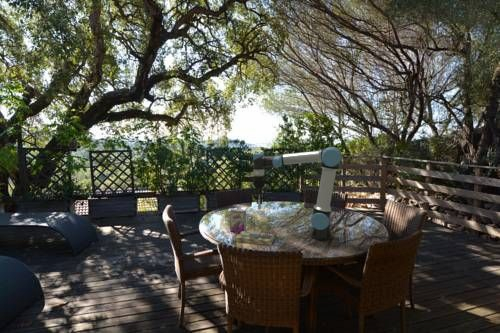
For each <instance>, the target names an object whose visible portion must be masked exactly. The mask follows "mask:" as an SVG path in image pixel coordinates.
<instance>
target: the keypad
mask: <svg viewBox="0 0 500 333" xmlns="http://www.w3.org/2000/svg"><path fill="white" fill-rule="evenodd" d="M252 232H253V231H246V232H245V231H242V232H241V233H239V234H238V235H237V236H236V237H235V243H242V244H243V243H245V244H251V245H252V244H253V245H262V246H272V244H273V243H274V241H275V240H276V234H275V233H265V232H261V236H262V235H271V237H270V239H266V238H261V236H260V237H259V238H256V237H251V235H250V236H249V237H246V236H241V234H242V233H252Z"/></svg>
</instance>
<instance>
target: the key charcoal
mask: <svg viewBox="0 0 500 333" xmlns="http://www.w3.org/2000/svg"><path fill="white" fill-rule="evenodd" d="M270 237H271V235H262V236H261V238H266V239H270Z"/></svg>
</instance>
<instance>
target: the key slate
mask: <svg viewBox="0 0 500 333" xmlns="http://www.w3.org/2000/svg"><path fill="white" fill-rule="evenodd" d="M251 232H252V233H251V237H256V238H259V237H260V236H261V233H262V232H261V231H254V230H252V231H251Z"/></svg>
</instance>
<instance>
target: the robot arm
mask: <svg viewBox="0 0 500 333" xmlns="http://www.w3.org/2000/svg"><path fill="white" fill-rule="evenodd" d="M342 156H343V155H342V151H341V149H339V148H338V147H336V146H329V147H326V148H321V149H319V150H313V151H303V152H294V153H293V152H292V153H282V154H275V155H268V156H267V155H265V154H264V153H263V152H256V153H253V156H252V162H253V163H252V164H253V170H252V172H253V183H252V184H250V185H249V187H250V189H251V192H252V196H253V199H254V200H256V205H257V209H258V210H261V209H262V205H263V200H264V199H265V198H266V194H267V190H268V188H269V185H268V184H266V182H265V168H280V167H282V166H284V165H295V164H308V163H320V167H321V169H322V170H321V176H320V181H319V188H318V193H317V199H316V204H315V205H313V207H312V208H313V209H312V214H311V217H310V223H311V226H312V228H311V232H310V237H311V238H312V239H313V240H318V241H330V239H331V240H332V239H333V238H334V236H333V232H332V231H333V230H332V228H331V227H332V226H331V220H332V206H331V201H332V197H333V196H332V195H333V191H334V184H335V178H336V175H337V174H336V173H337V172H338V171H339V170H340V166H341V160H342ZM263 188H264V190H263Z"/></svg>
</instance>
